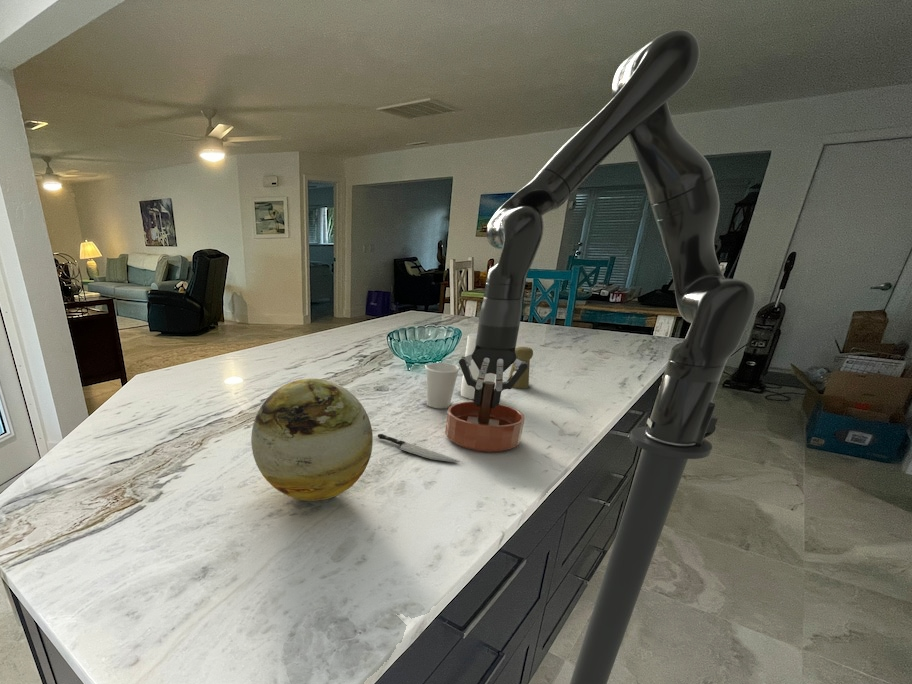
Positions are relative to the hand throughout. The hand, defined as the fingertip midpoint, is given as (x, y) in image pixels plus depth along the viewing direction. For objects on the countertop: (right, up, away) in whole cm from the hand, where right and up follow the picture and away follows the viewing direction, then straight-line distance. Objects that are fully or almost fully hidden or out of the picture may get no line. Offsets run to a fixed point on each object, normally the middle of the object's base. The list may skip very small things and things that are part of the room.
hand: (485, 406), depth 98 cm
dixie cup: (-4, +2, +23) cm, 24 cm away
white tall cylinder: (+8, +6, +30) cm, 32 cm away
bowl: (0, -7, +3) cm, 7 cm away
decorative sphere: (-36, -17, -17) cm, 44 cm away
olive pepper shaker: (+23, +9, +38) cm, 45 cm away
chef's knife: (-16, -10, -3) cm, 19 cm away
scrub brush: (0, -6, +3) cm, 7 cm away
